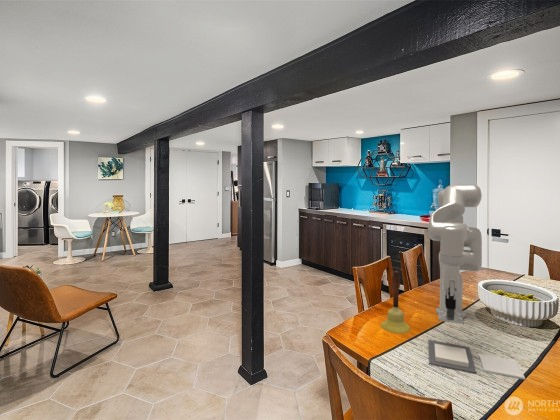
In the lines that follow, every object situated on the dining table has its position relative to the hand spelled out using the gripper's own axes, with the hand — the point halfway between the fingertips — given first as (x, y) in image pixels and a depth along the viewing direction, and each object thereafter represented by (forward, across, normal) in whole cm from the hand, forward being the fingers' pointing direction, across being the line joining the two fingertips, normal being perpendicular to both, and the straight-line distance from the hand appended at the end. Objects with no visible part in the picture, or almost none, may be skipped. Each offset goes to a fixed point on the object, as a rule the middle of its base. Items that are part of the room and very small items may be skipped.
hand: (450, 306), depth 117 cm
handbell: (+17, -11, -20) cm, 28 cm away
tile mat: (+16, +6, 0) cm, 17 cm away
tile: (+15, +8, 0) cm, 17 cm away
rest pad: (+16, +7, +15) cm, 23 cm away
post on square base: (+4, 0, 0) cm, 4 cm away
